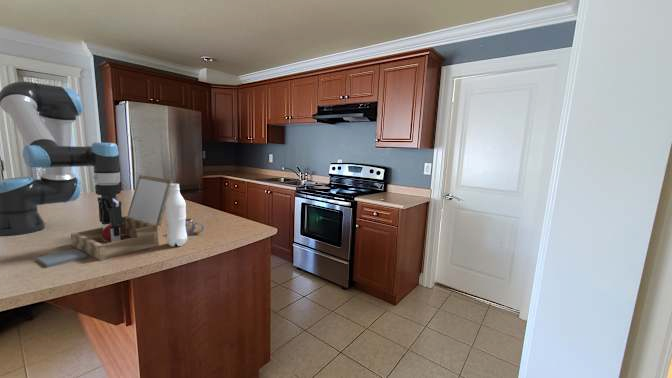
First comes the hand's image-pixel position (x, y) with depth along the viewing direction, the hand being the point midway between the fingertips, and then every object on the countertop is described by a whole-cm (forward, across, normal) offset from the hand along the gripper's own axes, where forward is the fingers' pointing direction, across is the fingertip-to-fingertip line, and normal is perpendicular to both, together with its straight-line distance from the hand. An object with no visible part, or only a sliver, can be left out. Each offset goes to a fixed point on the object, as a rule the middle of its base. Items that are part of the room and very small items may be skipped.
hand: (112, 241), depth 108 cm
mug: (+2, +10, +26) cm, 28 cm away
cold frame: (+2, 0, +1) cm, 2 cm away
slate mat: (+2, +1, -15) cm, 15 cm away
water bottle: (+2, +18, +15) cm, 24 cm away
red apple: (+1, 0, 0) cm, 1 cm away
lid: (-15, 0, +14) cm, 20 cm away
